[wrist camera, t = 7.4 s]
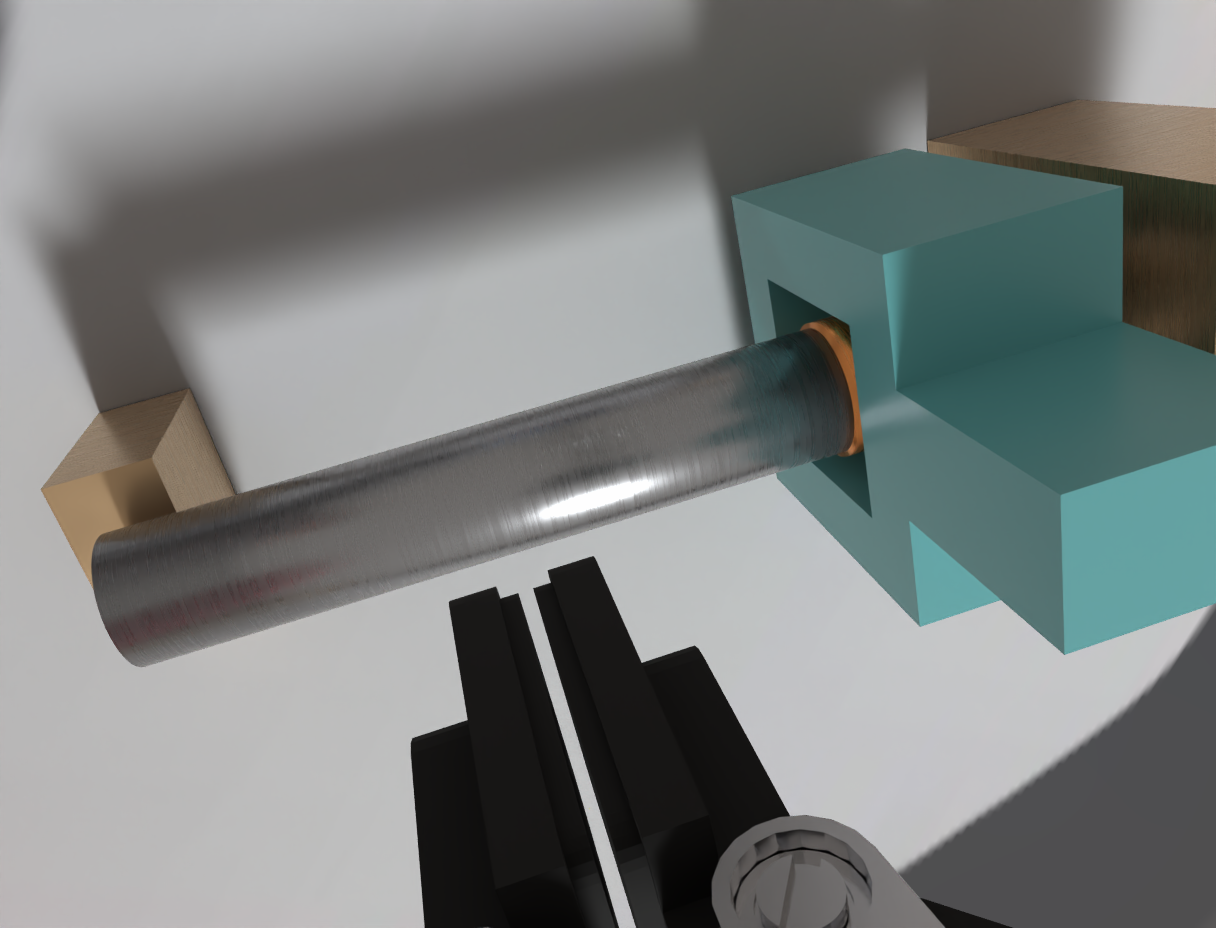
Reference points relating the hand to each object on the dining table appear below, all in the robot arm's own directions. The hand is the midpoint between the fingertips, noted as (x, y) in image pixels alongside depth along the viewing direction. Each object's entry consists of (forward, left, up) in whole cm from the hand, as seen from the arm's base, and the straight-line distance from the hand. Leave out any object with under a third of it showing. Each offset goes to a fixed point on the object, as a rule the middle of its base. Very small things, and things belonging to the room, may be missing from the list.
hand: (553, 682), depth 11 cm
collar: (+1, +8, -11) cm, 14 cm away
